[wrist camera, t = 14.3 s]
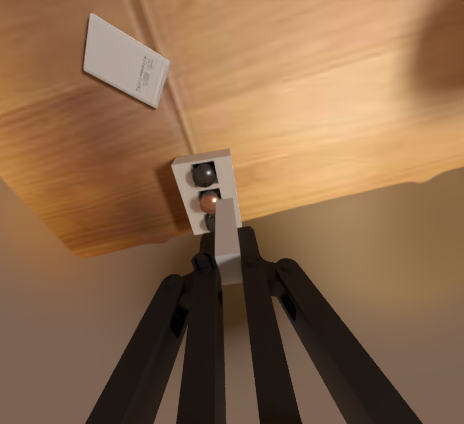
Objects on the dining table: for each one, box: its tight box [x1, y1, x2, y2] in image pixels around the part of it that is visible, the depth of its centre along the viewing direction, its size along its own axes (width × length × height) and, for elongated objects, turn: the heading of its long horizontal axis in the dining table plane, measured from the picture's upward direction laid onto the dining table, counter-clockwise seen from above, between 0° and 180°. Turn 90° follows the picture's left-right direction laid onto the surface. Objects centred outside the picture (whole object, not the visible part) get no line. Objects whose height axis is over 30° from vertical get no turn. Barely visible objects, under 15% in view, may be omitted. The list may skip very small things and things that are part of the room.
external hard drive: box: [83, 13, 171, 109], centre depth 34 cm, size 2×8×12 cm
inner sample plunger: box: [193, 161, 215, 188], centre depth 42 cm, size 4×4×6 cm
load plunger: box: [200, 188, 219, 214], centre depth 44 cm, size 4×4×6 cm
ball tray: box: [171, 148, 242, 235], centre depth 46 cm, size 18×12×5 cm, turn 9°
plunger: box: [206, 213, 216, 232], centre depth 48 cm, size 4×4×6 cm
